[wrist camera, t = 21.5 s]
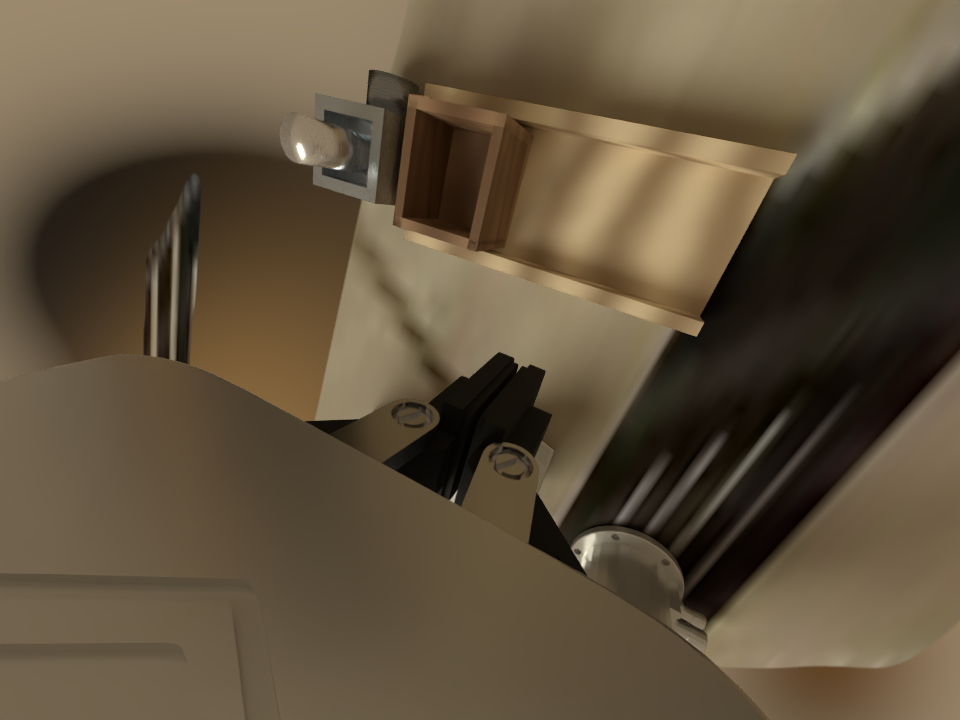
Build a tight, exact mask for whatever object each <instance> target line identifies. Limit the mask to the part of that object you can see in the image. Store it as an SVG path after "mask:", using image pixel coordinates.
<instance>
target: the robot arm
mask: <svg viewBox="0 0 960 720" xmlns="http://www.w3.org/2000/svg"><path fill="white" fill-rule="evenodd" d="M517 369H518V364H516V363H514V358H513V357H510V356H508V355H505V354H503V353H500V352H499V353H497V354H496V355H495V356H494V357H493V358H492V359H490V360H489V361H488V362H487V363H486V364H485V365H484V366H483V367H481V368H480V369H479V370H478V371H477V372H476V373H475V374H474V375H472V376H471V377H470V378H466V377H464V376H461V377H459V378H458V379H457V380H456V381H455V382H453V383H452V384H451V385H450V386H449V387H447V388H446V389H445V390H444V391H443V392H441V393H440V394H439V395H438V396H437V397H435V398H434V399H433V400H432V401H431V402H429V403H426V402H424V401H420V400H416V399H401V400H397V401H395V402H392V403H390V404H388V405H386V406H384V407H382V408H380V409H378V410H376V411H374V412H372V413H370V414H368V415H366V416H364V417H362V418H360V419H353V420H326V421H303V420H301V419H299V418H297V417H295V416H293V415H291V414H290V413H288V412H286V411H284V410H282V409H280V408H278V407H277V406H275V405H273V404H271V403H269V402H267V401H265V400H263V399H262V398H260V397H258V396H256V395H254V394H252V393H250V392H249V391H246V390H245V389H243V388H240V387H239V386H236V385H234V384H232V383H230V382H228V381H226V380H224V379H222V378H220V377H217V376H216V375H214V374H212V373H209V372H207V371H204V370H202V369H199V368H197V367H194V366H191V365H188V364H184V363H181V362H177V361H173V360H169V359H164V358H158V357H152V356H143V355H125V354H123V355H113V356H106V357H100V358H96V359H91V360H86V361H81V362H76V363H72V364H67V365H63V366H58V367H54V368H49V369H45V370H40V371H36V372H33V373H28V374H24V375H19V376H15V377H11V378H7V379H3V380H0V720H770V719H769V718H768V717H767V716H766V715H765V713H764V712H763V711H762V710H761V709H760V708H759V707H758V705H757V704H756V703H755V702H754V701H753V700H752V699H751V698H750V697H749V696H748V695H747V694H746V693H745V692H744V691H743V690H742V689H741V688H740V687H739V686H738V685H737V684H736V683H735V682H734V681H733V680H732V679H731V678H729V677H728V676H727V675H726V674H725V673H724V672H723V671H722V670H721V669H720V668H719V667H718V666H717V665H716V664H714V663H713V662H712V661H711V660H710V659H709V658H708V657H707V656H706V655H705V654H703V653H702V652H703V651H704V650H705V649H706V647H707V642H708V640H707V634H706V633H705V632H704V631H702V630H703V629H704V628H705V626H706V617H705V616H704V615H702V614H700V613H698V612H696V611H694V610H692V609H689V608H687V607H685V606H684V604H683V602H682V601H681V599H682V597H683V594H684V579H683V574H682V570H681V568H680V566H679V564H678V562H677V560H676V559H675V558H674V556H673V555H672V554H671V553H670V552H669V551H668V550H667V549H666V548H665V547H664V546H663V545H662V544H660V543H659V542H657V541H656V540H654V539H653V538H651V537H649V536H647V535H645V534H643V533H641V532H639V531H636V530H633V529H630V528H625V527H620V526H598V527H594V528H591V529H588V530H586V531H584V532H582V533H581V534H580V535H578V536H577V537H576V538H575V540H574V541H573V543H572V545H571V548H570V546H569V544H568V543H567V541H566V540H565V538H564V536H563V535H562V533H561V531H560V530H559V528H558V526H557V525H556V523H555V522H554V520H553V518H552V517H551V515H550V513H549V512H548V510H547V509H546V507H545V505H544V504H543V502H542V500H541V499H540V497H539V495H538V494H537V492H536V491H537V485H538V479H539V465H538V463H537V461H536V459H535V456H536V453H537V451H538V449H539V446H540V444H541V442H542V439H543V437H544V434H545V432H546V429H547V427H548V424H549V422H550V419H551V416H552V414H549V413H547V412H545V411H542V410H540V409H538V408H536V407H533V405H534V402H535V400H536V397H537V394H538V392H539V389H540V386H541V383H542V381H543V378H544V375H545V370H543V369H540V368H538V367H535V366H533V365H529V366H528V368H526V367H524V366H522V367H521V368H520V370H519V371H518V372H517ZM516 372H517V373H516ZM456 491H457V494H456V497H455V501H454V503H453V502H452V501H450V500H451V498H452V497H453V496H454V494H455V493H456ZM680 618H683V619H684V620H686V621H688V622H689V623H690V624H689V623H685V622H683V621H681V620H680ZM691 624H692V625H691ZM693 625H694V626H693ZM695 626H696V627H698V628H700V629H702V630H700V629H698V628H696V627H695Z"/></svg>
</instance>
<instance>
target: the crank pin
mask: <svg viewBox="0 0 960 720" xmlns="http://www.w3.org/2000/svg"><path fill="white" fill-rule="evenodd" d="M280 140H281V145H282V148H283V150H284V152H285V154H286V155H287V157H288V158H289V159H290V160H292V161H293V162H296V163H300V164H306V165H313V166H318V167H324V168H330V169H336V170H342V171H348V172H355V173H361V174H367V175H368V168H369V157H370V146H371V135H367V134H364V133H361V132H358V131H354V130H351V129H348V128H344V127H341V126H338V125H335V124H331V123H328V122H325V121H322V120H318V119H315V118H312V117H309V116H305V115H302V114H299V113H295V112H291V113H289V114H287V115H286V116H285V117H284V118H283V120H282V123H281V126H280Z"/></svg>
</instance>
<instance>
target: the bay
mask: <svg viewBox="0 0 960 720" xmlns="http://www.w3.org/2000/svg"><path fill="white" fill-rule="evenodd" d="M413 95H416V96H421V97H426V98H431V99H436V100H441V101H446V102H451V103H455V104H460V105H465V106H470V107H475V108H480V109H485V110H490V111H495V112H499V113H504V114H508V115H509V116H510V117H511V118H512V119H513V120H515V121H516V122H517V123H518V124H519V125H521V126H522V127H523V128H524V129H525V130H527V131H528V132H529V133H530V134H531V135H532V136H534V137H533V140H532V144H531V148H530V152H529V156H528V160H527V163H526V167H525V171H524V175H523V179H522V183H521V186H520V190H519V194H518V198H517V202H516V206H515V209H514V213H513V217H512V221H511V225H510V229H509V233H508V236H507V240H506V244H505V247H504V248H497V249H491V250H484V251H478V252H475V251H472V250H469V249H465V248H462V247H459V246H456V245H453V244H450V243H447V242H444V241H441V240H438V239H435V238H432V237H429V236H425V235H422V234H419V233H416V232H413V231H410V230H407V229H405V235H404V239H406V240H409V241H412V242H415V243H418V244H421V245H424V246H427V247H430V248H433V249H436V250H439V251H442V252H445V253H448V254H451V255H454V256H457V257H460V258H463V259H466V260H469V261H472V262H475V263H478V264H481V265H484V266H487V267H490V268H493V269H496V270H499V271H502V272H505V273H508V274H511V275H514V276H517V277H520V278H523V279H526V280H529V281H532V282H535V283H538V284H541V285H544V286H547V287H550V288H553V289H556V290H559V291H562V292H565V293H568V294H571V295H574V296H577V297H580V298H582V299H585V300H588V301H591V302H594V303H597V304H600V305H603V306H606V307H609V308H612V309H615V310H618V311H621V312H624V313H627V314H630V315H633V316H636V317H639V318H642V319H645V320H648V321H651V322H654V323H657V324H660V325H663V326H666V327H669V328H672V329H675V330H678V331H681V332H684V333H687V334H690V335H693V336H696V337H697V335H698V333H699V331H700V330H701V328H702V326H703V324H704V322H703V320H702V319H701V317H700V315H701V313H702V311H703V309H704V307H705V306H706V304H707V302H708V300H709V298H710V296H711V295H712V293H713V291H714V289H715V287H716V285H717V283H718V282H719V280H720V278H721V276H722V274H723V272H724V270H725V269H726V267H727V265H728V263H729V261H730V259H731V258H732V256H733V254H734V252H735V250H736V248H737V246H738V245H739V243H740V241H741V239H742V237H743V235H744V234H745V232H746V230H747V228H748V226H749V224H750V222H751V221H752V219H753V217H754V215H755V213H756V211H757V209H758V208H759V206H760V204H761V202H762V200H763V198H764V197H765V195H766V193H767V191H768V189H769V187H770V185H771V184H772V182H773V180H774V179H775V178H778V177H781V176H784V175H786V174H787V172H788V170H789V168H790V166H791V164H792V163H793V161H794V159H795V157H796V155H797V154H793V153H788V152H783V151H778V150H773V149H767V148H762V147H757V146H752V145H747V144H741V143H736V142H731V141H726V140H721V139H715V138H710V137H705V136H700V135H695V134H689V133H684V132H679V131H674V130H669V129H663V128H658V127H653V126H648V125H642V124H637V123H632V122H627V121H622V120H616V119H611V118H606V117H601V116H596V115H590V114H585V113H580V112H575V111H570V110H564V109H559V108H554V107H549V106H544V105H538V104H533V103H528V102H523V101H518V100H512V99H507V98H502V97H497V96H492V95H486V94H481V93H476V92H471V91H466V90H460V89H455V88H450V87H445V86H440V85H434V84H429V83H425V90H424V96H422V95H417V94H413ZM396 227H398V226H396ZM399 228H401V227H399ZM402 229H404V228H402Z"/></svg>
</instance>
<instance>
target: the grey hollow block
mask: <svg viewBox="0 0 960 720" xmlns="http://www.w3.org/2000/svg"><path fill="white" fill-rule="evenodd" d="M418 88H419V87H418V86H417V85H416V84H414V83H412V82H411V81H409V80H406V79H404V78H402V77H399V76H396V75H393V74H390V73H387V72H383V71H378V70H369V77H368V90H367V101H366V104H361V103H357V102H352V101H348V100H344V99H339V98H335V97H330V96H325V95H321V94H317V93H316V95H315V119H318V120H322V121H325V122H328V123H331V124H335V125H338V126H341V127H344V128H348V129H351V130H354V131H358V132H361V133H364V134H367V135H371V146H370V157H369V168H368V175H367V174H361V173H355V172H348V171H342V170H336V169H330V168H324V167H318V166H314V167H313V168H314V169H313V184H314V185H317V186H320V187H323V188H327V189H330V190H333V191H336V192H340V193H343V194H346V195H350V196H353V197H356V198H359V199H362V200H365V201H368V202H372V203H375V204H386V205H395V204H396V195H397V187H398V179H399V171H400V163H401V155H402V146H403V138H404V130H405V122H406V114H407V106H408V98H409V94H412V95H413V94H417V95H418Z"/></svg>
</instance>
